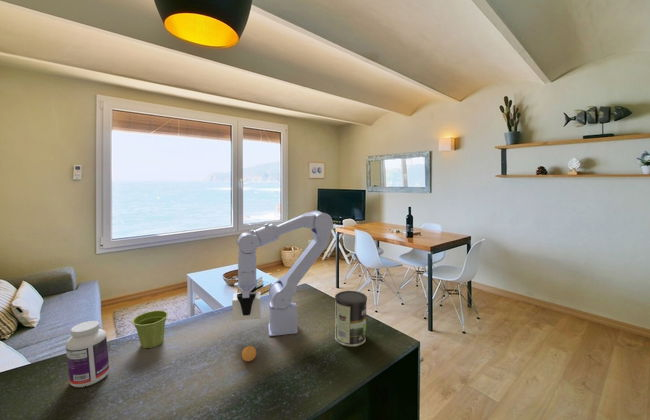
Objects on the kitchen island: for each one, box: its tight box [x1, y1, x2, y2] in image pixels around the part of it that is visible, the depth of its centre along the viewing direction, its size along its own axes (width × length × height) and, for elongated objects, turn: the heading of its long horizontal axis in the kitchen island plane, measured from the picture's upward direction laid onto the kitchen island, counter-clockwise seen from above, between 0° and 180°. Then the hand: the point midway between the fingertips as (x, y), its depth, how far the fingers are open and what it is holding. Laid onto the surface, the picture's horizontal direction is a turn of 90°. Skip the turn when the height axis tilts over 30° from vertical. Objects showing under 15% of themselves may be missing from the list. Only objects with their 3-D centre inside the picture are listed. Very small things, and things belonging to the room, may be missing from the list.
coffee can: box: [334, 290, 368, 347], centre depth 94 cm, size 10×10×14 cm
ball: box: [241, 345, 257, 362], centre depth 83 cm, size 4×4×4 cm
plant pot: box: [131, 310, 169, 349], centre depth 90 cm, size 9×9×9 cm
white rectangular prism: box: [231, 291, 262, 321], centre depth 95 cm, size 9×6×7 cm
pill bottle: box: [65, 320, 110, 388], centre depth 74 cm, size 8×8×14 cm
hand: (247, 310), depth 95 cm, fingers closed on white rectangular prism, 6 cm apart
